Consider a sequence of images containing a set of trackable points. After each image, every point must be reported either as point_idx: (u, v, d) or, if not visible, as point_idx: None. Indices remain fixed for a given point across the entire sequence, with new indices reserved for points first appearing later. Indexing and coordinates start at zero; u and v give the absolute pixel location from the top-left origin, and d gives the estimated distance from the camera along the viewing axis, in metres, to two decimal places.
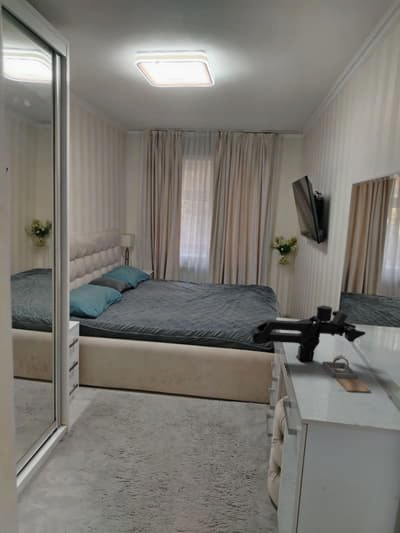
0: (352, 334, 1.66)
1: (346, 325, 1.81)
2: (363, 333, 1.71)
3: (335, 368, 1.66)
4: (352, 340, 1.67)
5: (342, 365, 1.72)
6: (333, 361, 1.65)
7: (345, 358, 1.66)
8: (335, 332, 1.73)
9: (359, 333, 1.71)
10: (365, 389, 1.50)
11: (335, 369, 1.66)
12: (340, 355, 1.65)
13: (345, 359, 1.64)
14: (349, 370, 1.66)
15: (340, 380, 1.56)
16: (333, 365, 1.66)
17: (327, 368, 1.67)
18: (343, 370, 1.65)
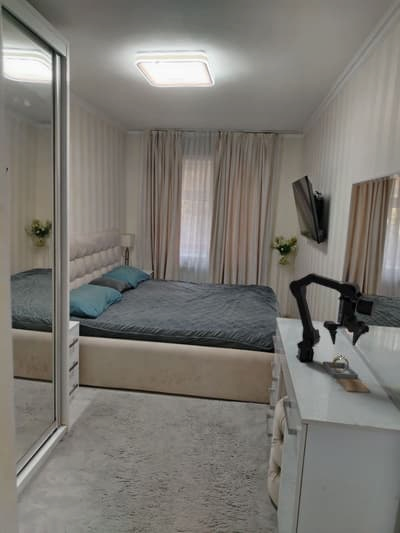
0: (326, 325, 1.61)
1: (355, 335, 1.64)
2: (332, 342, 1.64)
3: (335, 368, 1.66)
4: (323, 325, 1.64)
5: (342, 365, 1.72)
6: (333, 361, 1.65)
7: (345, 358, 1.66)
8: None
9: (332, 337, 1.63)
10: (365, 389, 1.50)
11: (335, 369, 1.66)
12: (340, 355, 1.65)
13: (345, 359, 1.64)
14: (349, 370, 1.66)
15: (340, 380, 1.56)
16: (333, 365, 1.66)
17: (327, 368, 1.67)
18: (343, 370, 1.65)
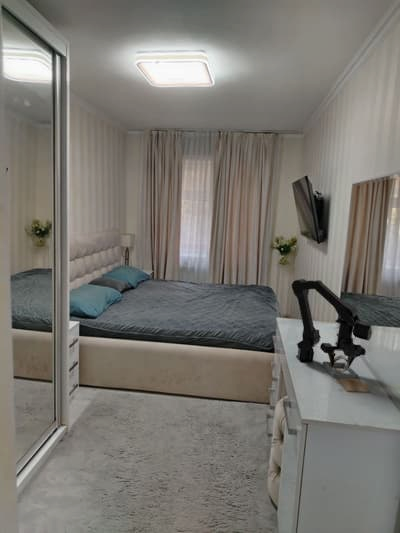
0: (323, 348, 1.63)
1: (350, 357, 1.65)
2: (331, 364, 1.65)
3: (335, 368, 1.66)
4: (320, 347, 1.66)
5: (342, 365, 1.72)
6: None
7: (345, 358, 1.66)
8: None
9: (330, 359, 1.65)
10: (365, 389, 1.50)
11: (335, 369, 1.66)
12: (340, 355, 1.65)
13: (345, 359, 1.64)
14: (349, 370, 1.66)
15: (340, 380, 1.56)
16: (333, 365, 1.66)
17: (327, 368, 1.67)
18: (343, 370, 1.65)
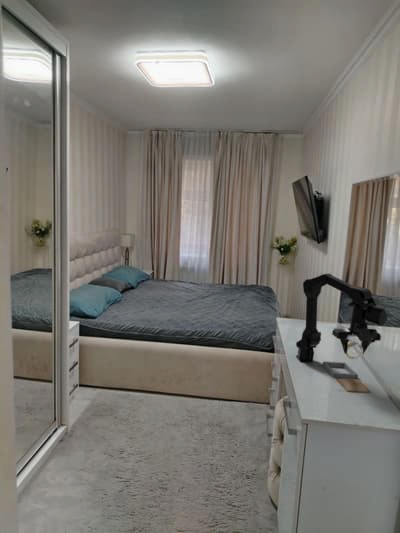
0: (335, 334, 1.53)
1: (364, 344, 1.55)
2: (344, 351, 1.55)
3: (348, 355, 1.56)
4: (332, 333, 1.55)
5: (342, 365, 1.72)
6: None
7: None
8: None
9: (343, 346, 1.54)
10: (365, 389, 1.50)
11: (348, 356, 1.56)
12: (353, 341, 1.55)
13: (359, 345, 1.54)
14: (349, 370, 1.66)
15: (340, 380, 1.56)
16: None
17: (327, 368, 1.67)
18: (357, 357, 1.55)
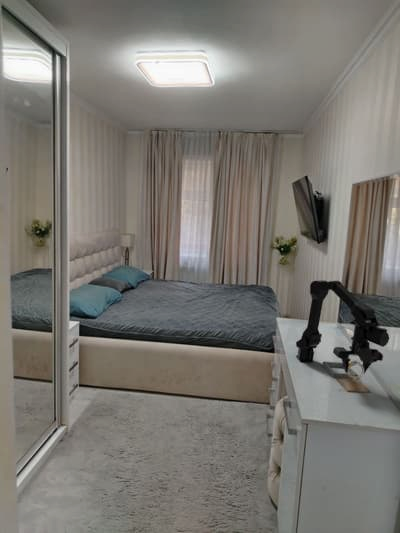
0: (336, 353, 1.50)
1: (365, 363, 1.52)
2: (345, 370, 1.52)
3: (349, 374, 1.53)
4: (333, 351, 1.53)
5: (342, 365, 1.72)
6: None
7: None
8: (352, 341, 1.51)
9: (344, 365, 1.52)
10: (365, 389, 1.50)
11: (349, 375, 1.53)
12: (355, 360, 1.52)
13: (360, 365, 1.51)
14: (349, 370, 1.66)
15: (340, 380, 1.56)
16: None
17: (327, 368, 1.67)
18: (358, 376, 1.52)
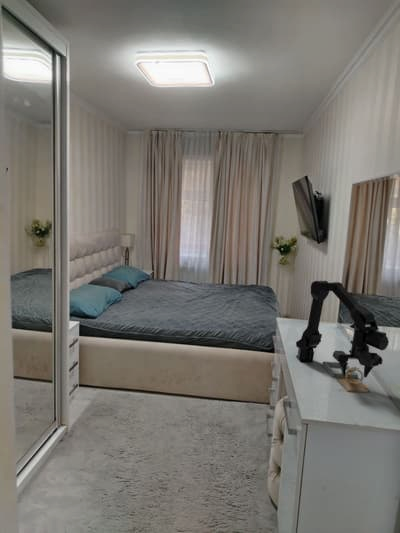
0: (336, 356, 1.50)
1: (367, 367, 1.52)
2: (342, 373, 1.52)
3: (348, 380, 1.53)
4: (333, 355, 1.53)
5: None
6: (346, 373, 1.52)
7: (359, 370, 1.53)
8: None
9: (342, 368, 1.52)
10: (365, 389, 1.50)
11: (348, 381, 1.53)
12: (354, 366, 1.52)
13: (359, 371, 1.51)
14: None
15: (340, 380, 1.56)
16: (346, 377, 1.53)
17: (327, 368, 1.67)
18: (357, 383, 1.52)
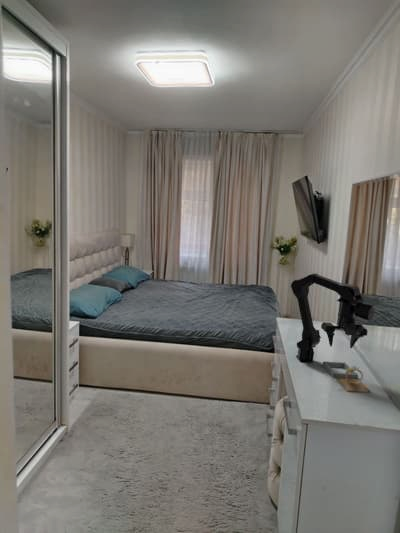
0: (324, 327, 1.60)
1: (353, 338, 1.62)
2: (330, 344, 1.63)
3: (348, 380, 1.53)
4: (321, 326, 1.63)
5: (342, 365, 1.72)
6: (346, 373, 1.53)
7: None
8: (339, 317, 1.62)
9: (329, 339, 1.62)
10: (365, 389, 1.50)
11: (348, 381, 1.53)
12: (354, 366, 1.52)
13: (359, 371, 1.51)
14: None
15: (340, 380, 1.56)
16: (346, 377, 1.53)
17: (327, 368, 1.67)
18: (357, 382, 1.52)
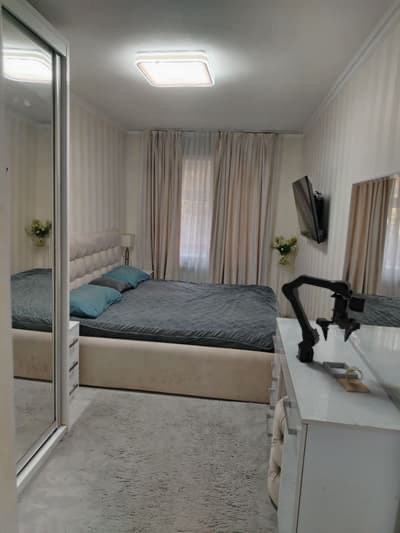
0: (318, 322, 1.65)
1: (347, 332, 1.67)
2: (324, 338, 1.67)
3: (348, 380, 1.53)
4: (316, 321, 1.68)
5: (342, 365, 1.72)
6: (346, 373, 1.53)
7: None
8: (333, 312, 1.67)
9: (324, 333, 1.67)
10: (365, 389, 1.50)
11: (348, 381, 1.53)
12: (354, 366, 1.52)
13: (359, 371, 1.51)
14: None
15: (340, 380, 1.56)
16: (346, 377, 1.53)
17: (327, 368, 1.67)
18: (357, 382, 1.52)
